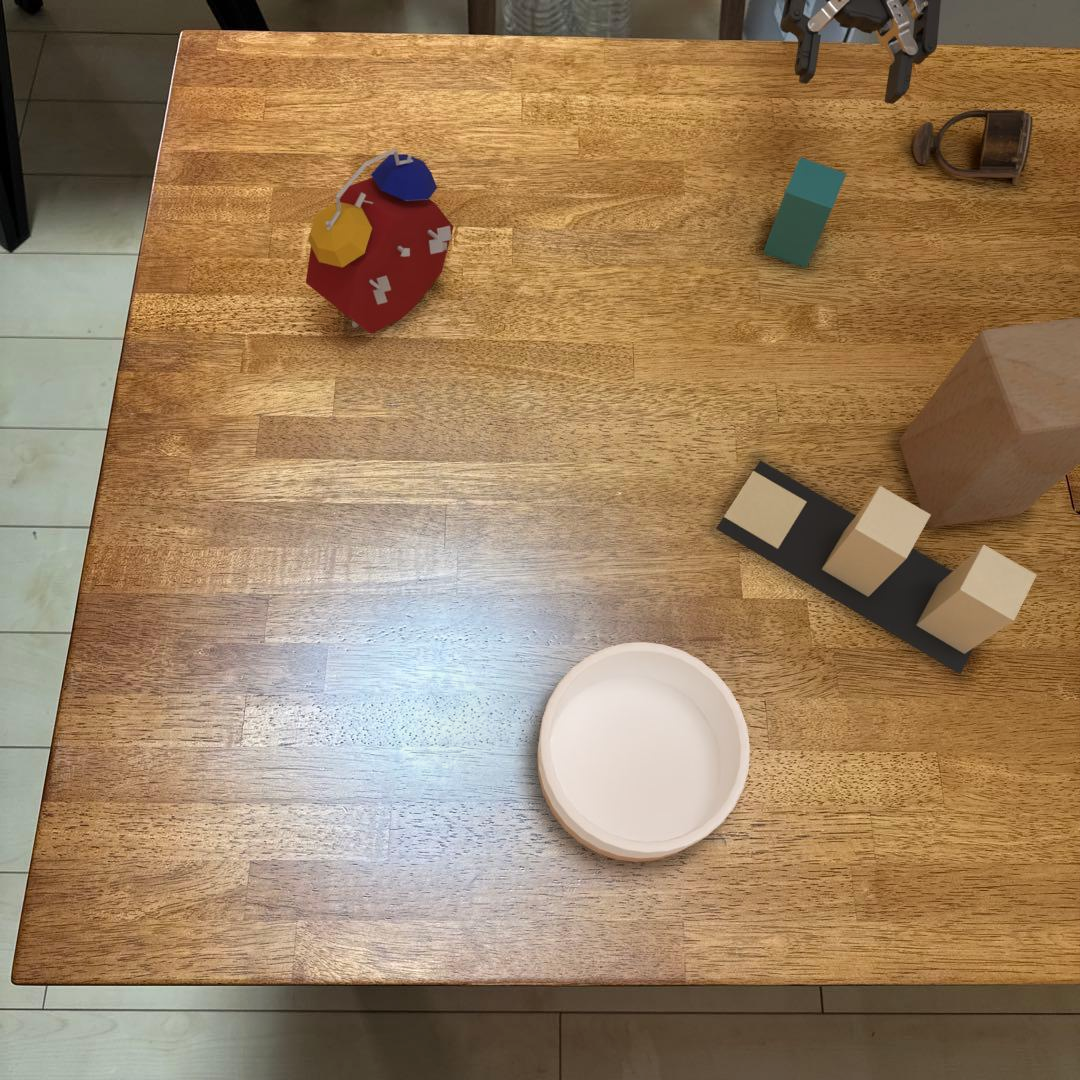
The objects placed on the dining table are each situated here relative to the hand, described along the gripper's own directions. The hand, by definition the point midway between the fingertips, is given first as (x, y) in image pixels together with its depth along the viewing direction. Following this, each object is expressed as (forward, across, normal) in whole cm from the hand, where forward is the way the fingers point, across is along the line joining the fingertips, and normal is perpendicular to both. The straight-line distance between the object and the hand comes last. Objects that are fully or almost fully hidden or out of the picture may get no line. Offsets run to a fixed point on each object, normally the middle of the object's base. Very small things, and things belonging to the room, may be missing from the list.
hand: (850, 90), depth 93 cm
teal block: (+8, +4, +19) cm, 21 cm away
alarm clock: (+22, -38, +21) cm, 49 cm away
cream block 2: (+46, +18, +1) cm, 50 cm away
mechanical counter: (-7, +24, +22) cm, 33 cm away
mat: (+43, +9, +4) cm, 44 cm away
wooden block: (+32, +20, +7) cm, 39 cm away
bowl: (+63, -11, 0) cm, 64 cm away
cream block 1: (+42, +9, +4) cm, 44 cm away
